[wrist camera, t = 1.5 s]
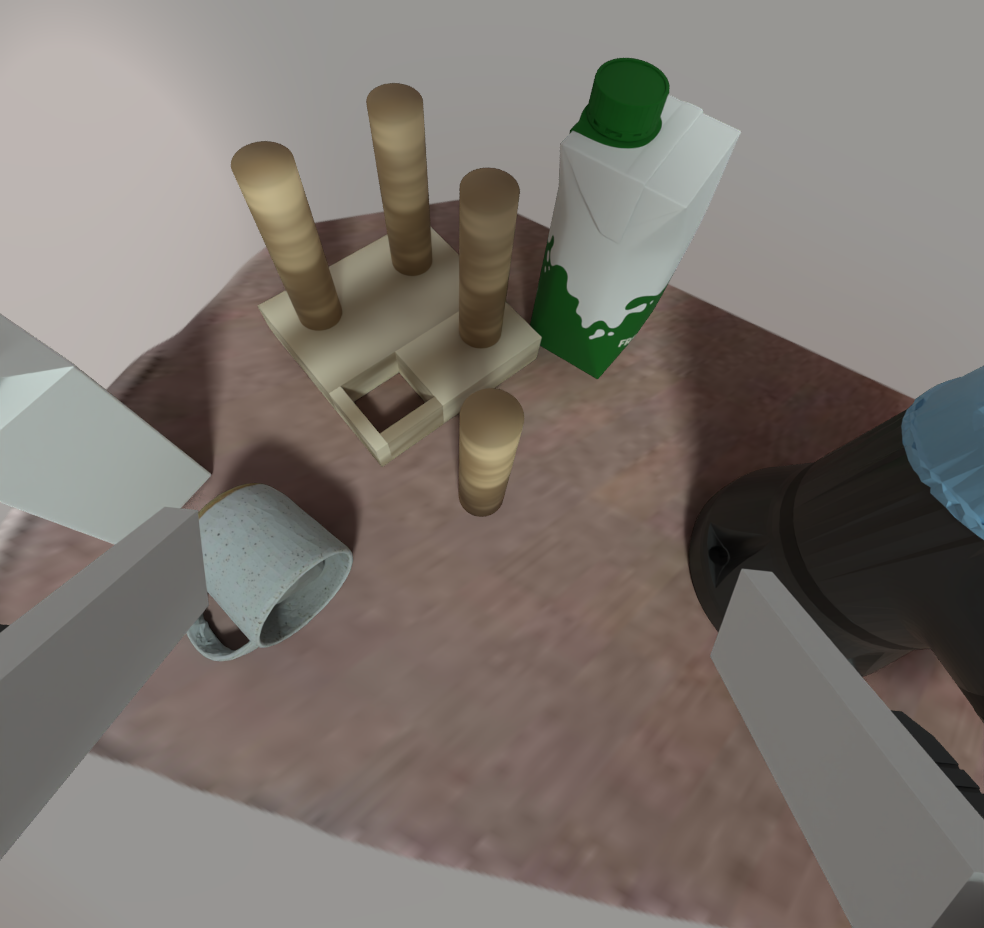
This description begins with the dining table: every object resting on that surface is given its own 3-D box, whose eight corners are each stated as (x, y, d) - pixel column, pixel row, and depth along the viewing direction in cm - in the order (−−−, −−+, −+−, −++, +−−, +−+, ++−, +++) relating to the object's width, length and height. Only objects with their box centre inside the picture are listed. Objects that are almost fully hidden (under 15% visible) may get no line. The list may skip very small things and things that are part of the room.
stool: (536, 358, 44) (576, 199, 29) (381, 467, 39) (336, 344, 25) (422, 242, 48) (406, 51, 33) (270, 329, 43) (173, 151, 28)
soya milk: (563, 276, 47) (631, 24, 29) (649, 324, 46) (779, 91, 28) (512, 340, 44) (552, 105, 26) (602, 394, 43) (713, 185, 24)
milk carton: (143, 427, 39) (-110, 230, 22) (214, 475, 38) (7, 310, 21) (67, 500, 37) (-288, 346, 19) (140, 554, 36) (-166, 443, 18)
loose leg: (512, 498, 39) (537, 421, 27) (478, 525, 38) (487, 458, 26) (484, 465, 40) (495, 377, 28) (449, 491, 39) (446, 411, 27)
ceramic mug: (283, 494, 38) (241, 455, 31) (364, 563, 37) (340, 539, 29) (166, 610, 35) (89, 597, 28) (251, 691, 33) (192, 700, 26)
